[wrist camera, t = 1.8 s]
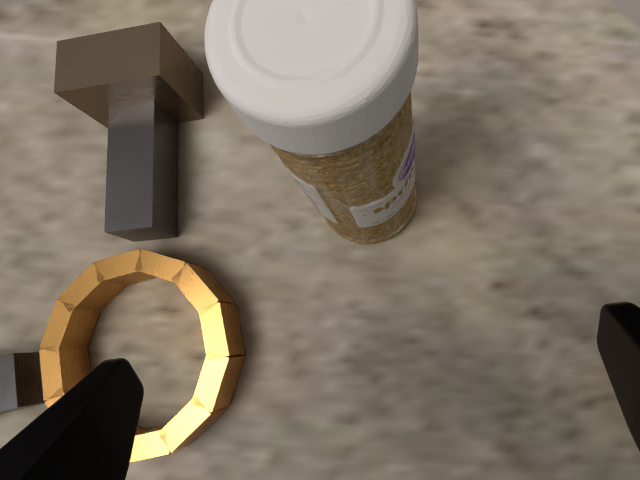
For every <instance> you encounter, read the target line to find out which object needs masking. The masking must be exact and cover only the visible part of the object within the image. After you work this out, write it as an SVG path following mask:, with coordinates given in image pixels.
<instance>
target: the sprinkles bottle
mask: <svg viewBox="0 0 640 480" xmlns="http://www.w3.org/2000/svg"><path fill="white" fill-rule="evenodd" d="M205 54H206V59H207V63H208V66H209V70H210V72H211V75H212V77H213V79H214V81H215V84H216V85H217V87H218V88H219V90H220V91H221V93H222V94H223V96H224V97H225V99H226V100H227V102H228V103H229V104H230V106H231V107H232V108H233V110H234V111H235V112H236V114H237V115H238V116H239V117H240V119H241V120H242V121H243V122H244V123H245V125H246V126H247V127H248V128H249V129H250V130H251V131H252V132H253V133H255V134H256V135H257V136H258V137H259V138H261V139H262V140H264V141H265V142H267V143H269V144H270V145H271V147H272V148H273V150H274V151H275V152H276V153H277V155H278V157H279V159H280V161H281V163H282V164H283V166H284V167H285V169H286V170H287V171H288V173H289V174H290V175H291V177H292V178H293V179H294V180H295V182H296V183H297V184H298V185H299V187H300V188H301V189H302V190H303V192H304V193H305V194H306V195H307V197H308V198H309V199H310V200H311V202H312V203H313V204H314V205H315V207H316V208H317V209H318V210H319V211H320V212H321V213H322V214H323V215H324V217H325V218H326V220H327V223H328V224H329V225H330V227H331V228H332V229H333V230H335V231H336V232H337V233H338V234H339V235H340V236H341V237H343V238H346V239H348V240H350V241H353V242H356V243H359V244H372V243H378V242H380V241H384V240H386V239H389V238H391V237H393V236H394V235H396V234H397V233H399V232H400V231H401V230H402V229H403V228H404V227H405V226H406V224H407V223H408V221H409V220H410V219H411V216H412V215H413V213H414V211H415V207H416V203H417V188H416V183H415V140H414V122H413V119H412V109H411V106H412V102H411V88H412V86H413V83H414V79H415V76H416V71H417V65H418V14H417V5H416V0H213V2H212V4H211V6H210V9H209V12H208V16H207V21H206V26H205Z"/></svg>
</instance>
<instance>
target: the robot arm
mask: <svg viewBox="0 0 640 480" xmlns="http://www.w3.org/2000/svg"><path fill="white" fill-rule="evenodd" d="M597 345H598V349H599V352H600V355H601V358H602V360H603V363H604V365H605V368H606V371H607V373H608V376H609V379H610V381H611V384H612V386H613V389H614V392H615V394H616V397H617V399H618V402H619V405H620V407H621V410H622V412H623V415H624V418H625V420H626V423H627V425H628V427H629V430H630V432H631V435H632V437H633V439H634V441H635V443H636V445H637V447H638V449H639V451H640V307H638V306H636V305H635V304H633V303H630V302H619V303H609V304H605V305H603V306H602V308H601V311H600V319H599V326H598V334H597ZM143 395H144V389H143V385H142V383H141V381H140V379H139V378H138V376H137V374H136V373H135V371H134V370H133V368H132V366H131V365H130V363H129V362H128V361H127V360H126V359H124V358H118V359H109V360H105V361H103V362H102V363H101V364H99V365H98V366H97V367H96V368H95V369H94V370H92V371H91V372H90V373H89V374H88V375H86V376H85V377H84V378H83V379H82V380H81V381H79V382H78V383H77V384H76V385H75V386H74V387H72V388H71V389H70V390H69V391H68V392H67V393H65V394H64V395H63V396H62V397H61V398H59V399H58V400H57V401H56V402H55V403H54V404H52V405H51V406H50V407H49V408H48V409H47V410H45V411H44V412H43V413H42V414H41V415H40V416H38V417H37V418H36V419H35V420H34V421H33V422H31V423H30V424H29V425H28V426H27V427H25V428H24V429H23V430H22V431H21V432H20V433H18V434H17V435H16V436H15V437H14V438H13V439H11V440H10V441H9V442H8V443H7V444H6V445H4V446H3V447H2V448H1V449H0V480H125V478H126V475H127V471H128V467H129V463H130V459H131V455H132V450H133V445H134V440H135V435H136V430H137V425H138V420H139V415H140V411H141V406H142V401H143Z"/></svg>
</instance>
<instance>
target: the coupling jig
mask: <svg viewBox="0 0 640 480" xmlns="http://www.w3.org/2000/svg"><path fill="white" fill-rule="evenodd" d="M54 93H55V94H57V95H58V96H60V97H61V98H63V99H64V100H66V101H67V102H69V103H70V104H72V105H74V106H75V107H77V108H78V109H80V110H81V111H83V112H84V113H86V114H87V115H89V116H90V117H92V118H93V119H95V120H96V121H98V122H99V123H101V124H102V125H104V126H105V127H107V128H108V150H107V178H106V205H105V232H106V233H109V234H112V235H115V236H118V237H121V238H124V239H127V240H131V241H134V242H135V241H145V240H155V239H165V238H175V237H177V235H178V122H183V121H190V120H197V119H203V73H202V72H201V71H200V70H199V68H198V67H197V66H196V65H195V63H194V62H193V61H192V60H191V59H190V57H189V56H188V55H187V54H186V53H185V51H184V50H183V49H182V48H181V46H180V45H179V44H178V43H177V42H176V40H175V39H174V38H173V37H172V36H171V34H170V33H169V32H168V31H167V29H166V28H165V27H164V26H163V25H162V23H161V22H157V23H152V24H146V25H141V26H136V27H130V28H125V29H120V30H114V31H109V32H104V33H98V34H93V35H88V36H82V37H77V38H72V39H67V40H61V41H57V53H56V69H55V85H54ZM155 277H159V278H162V279H166V280H169V281H172V282H174V283H175V284H176V285H177V286H178V288H179V289H180V290H181V291H182V293H183V294H184V295H185V296H186V297H187V299H188V300H189V301H190V302H191V303H192V305H193V306H194V307H195V308H196V309H197V311H198V312H199V315H200V321H201V326H202V332H203V338H204V344H205V350H206V359H205V362H204V365H203V368H202V371H201V374H200V377H199V381H198V384H197V387H196V390H195V393H194V396H193V399H192V400H191V401H190V402H189V403H188V404H187V405H186V406H185V407H184V408H183V409H182V410H181V411H180V412H179V413H178V414H177V415H176V416H175V417H174V418H173V419H172V420H171V421H170V422H169V423H168V424H167V425H166V426H162V427H157V428H153V429H149V430H145V429H143V428H140V427H138V426H137V430H136V435H135V440H134V445H133V450H132V455H131V459H130V462H134V461H138V460H143V459H148V458H152V457H157V456H161V455H166V454H170V453H172V452H174V451H176V450H178V449H180V448H182V447H184V446H186V445H188V444H190V443H192V442H194V441H195V440H196V439H197V438H198V437H199V436H200V435H201V434H202V433H203V432H204V431H205V430H206V429H207V428H208V427H209V426H210V425H211V424H212V423H213V422H214V421H215V420H216V419H217V418H218V417H219V416H220V415H221V414H222V413H223V412H224V411H225V410H226V409H227V408H228V406H229V405H230V403H231V400H232V397H233V393H234V390H235V387H236V384H237V380H238V377H239V374H240V371H241V368H242V364H243V361H244V358H245V356H244V355H241V354H245V350H244V344H243V339H242V334H241V328H240V323H239V318H238V312H237V307H236V305H234V304H235V302H234V301H233V300H232V299H231V298H230V296H229V295H228V294H227V293H226V292H225V291H224V289H223V288H222V287H221V286H220V285H219V284H218V282H217V281H216V280H215V279H214V278H213V277H212V275H211V274H210V273H209V272H208V271H207V270H206V269H205V268H203V267H200V266H197V265H194V264H190V263H187V262H184V261H180V260H177V259H174V258H170V257H167V256H164V255H160V254H157V253H153V252H150V251H147V250H143V249H138V250H134V251H131V252H127V253H124V254H120V255H117V256H113V257H110V258H106V259H103V260H99V261H95V263H92V264H91V265H90V266H89V267H88V268H87V269H86V270H85V271H84V272H83V273H82V274H81V275H80V276H79V277H78V278H77V279H76V280H75V281H74V282H73V283H72V284H71V285H70V286H69V287H68V288H67V289H66V290H65V291H64V292H63V293H62V294H61V295H60V296H59V299H57V300H56V303H55V306H54V309H53V311H52V314H51V317H50V320H49V322H48V325H47V328H46V330H45V333H44V336H43V339H42V341H41V344H40V348H43V349H39V352H35V353H15V354H10V355H6V356H2V357H0V414H2V413H6V412H10V411H14V410H19V409H23V408H27V407H31V406H35V405H39V404H43V403H45V404H46V406H47V407H48V408H49V407H50V406H51V405H52V404H54V403H55V402H56V401H57V400H58V399H59V398H61V397H62V396H63V395H64V394H65V393H67V392H68V391H69V390H70V389H71V388H72V387H74V386H75V385H76V384H77V383H78V382H79V381H81V380H82V379H83V378H84V377H85V376H86V375H88V374H89V373H90V367H89V358H88V349H87V348H88V345H89V342H90V339H91V336H92V333H93V331H94V328H95V325H96V322H97V319H98V316H99V314H100V311H101V310H102V309H103V308H104V307H105V306H106V305H107V304H108V303H109V302H110V301H111V300H112V299H113V298H114V297H115V296H116V295H117V294H119V293H120V292H121V291H122V290H123V289H124V288H125V287H126V286H127V285H130V284H134V283H137V282H141V281H144V280H148V279H152V278H155Z"/></svg>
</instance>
